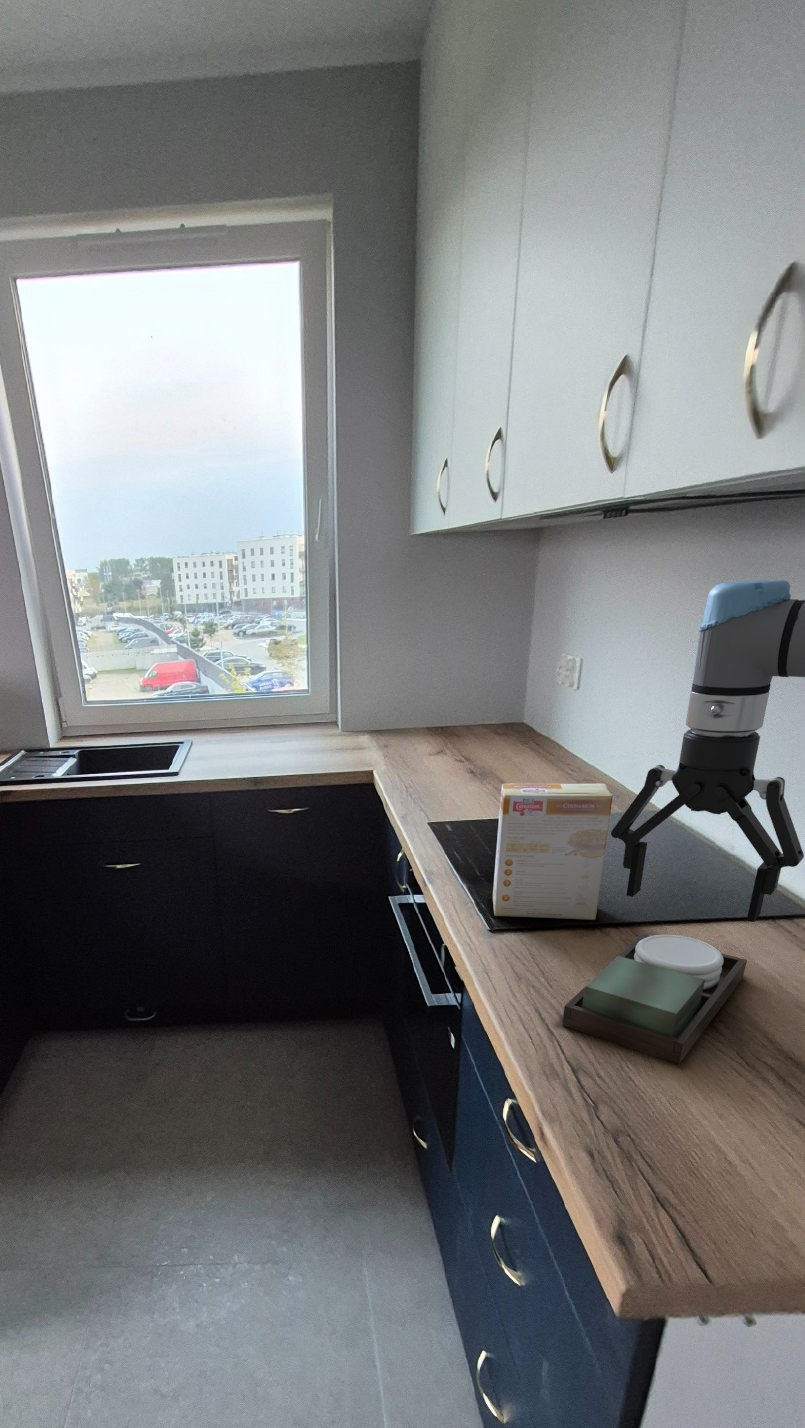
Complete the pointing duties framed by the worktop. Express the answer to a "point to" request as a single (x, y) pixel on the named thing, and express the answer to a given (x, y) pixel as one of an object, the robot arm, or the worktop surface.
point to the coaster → (682, 956)
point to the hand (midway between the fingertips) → (690, 905)
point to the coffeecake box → (551, 850)
